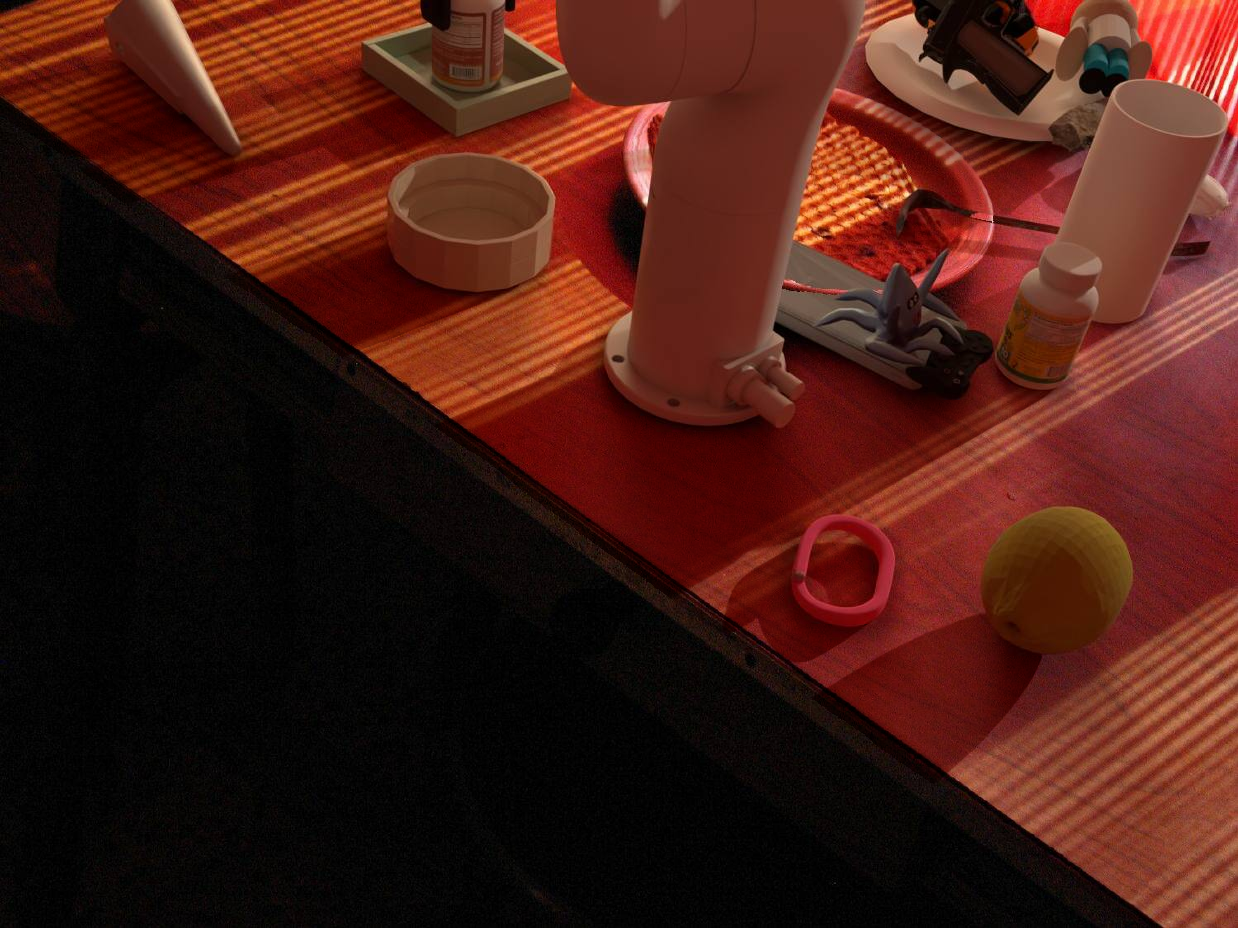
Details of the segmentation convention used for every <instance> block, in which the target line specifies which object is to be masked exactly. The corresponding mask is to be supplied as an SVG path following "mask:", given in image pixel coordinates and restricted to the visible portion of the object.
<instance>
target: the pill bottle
mask: <svg viewBox="0 0 1238 928" xmlns="http://www.w3.org/2000/svg"><path fill="white" fill-rule="evenodd" d="M505 17H506V11H505V0H451V17H450V28H449V29H448V30H446V31H441V30H439V29H438V28H436V27H435V26H433V25H432V74H433V77H434V78H435V80H436V81H437V82H438V83H440V84H441V85H443V86H444V87H447V88H449V89H452V90H456V91H461V92H480V91H484V90H487V89H490V88H492V87H493V86H495V85H496V84H497V83H498V82H499V81H500V79H501V77H502V71H503V48H504V27H505V20H506V18H505Z"/></svg>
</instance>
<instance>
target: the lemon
mask: <svg viewBox="0 0 1238 928" xmlns="http://www.w3.org/2000/svg"><path fill="white" fill-rule="evenodd" d="M1133 583H1134V568H1133V561H1132V559H1131V556H1130V553H1129V549H1128V546H1127V543H1126V542H1125V541H1124V539H1123V538H1122V536H1121V535H1120V533H1119V532H1118V531H1117V530H1116V529H1115V527H1114V526H1113V525H1111V524H1110V522H1109V521H1108V520H1107V519H1106V518H1104V517H1102V516H1100V515H1098V514H1097V513H1095V512H1094V511H1091V510H1088V509H1086V508H1082V507H1077V506H1051V507H1050V506H1049V507H1047V508H1044V509H1041V510H1038V511H1035V512H1033V513H1030V514H1028V515H1027V516H1025V517H1023V518H1021V519H1019V520H1018V521H1016V522H1014V523H1013V524H1011V525H1010V526H1008V527H1007V528H1006V529H1005V530H1004V531H1003V532H1002V533H1001V534H1000V535H999V536H998V537H997V539H996V540H995V541H994V543H993V544H992V546H991V547H990V549H989V551H988V553H987V556H986V558H985V562H984V565H983V568H982V572H981V578H980V584H979V587H980V596H981V601H982V605H983V609H984V612H985V614H986V617H987V619H988V621H989V623H990V624H991V625H992V627H993V628H994V629H995V630H996V631H997V633H998V634H999V636H1000V637H1001V638H1002V639H1003V640H1005V641H1008V642H1009V643H1010V644H1012V645H1014V646H1016V647H1018V648H1020V649H1022V650H1025V651H1028V652H1031V653H1035V654H1041V655H1061V654H1067V653H1071V652H1075V651H1077V650H1080V649H1083V648H1086V647H1088V646H1090V645H1092V644H1093V643H1094V642H1095V641H1097V640H1098V639H1099V638H1100V637H1101V636H1102V635H1103V634H1105V633H1106V631H1108V630H1109V629H1110V628H1111V627H1112V625H1113V624H1114V623H1115V621H1116V620H1117V619H1118V616H1119V615H1120V612H1121V611H1122V609H1123V607H1124V605H1125V603H1126V600H1127V599H1128V596H1129V594H1130V592H1131V589H1132V586H1133Z"/></svg>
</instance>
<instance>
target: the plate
mask: <svg viewBox="0 0 1238 928" xmlns="http://www.w3.org/2000/svg"><path fill="white" fill-rule="evenodd" d="M1037 27H1038V26H1037ZM1038 28H1039V29H1038V33H1039V43H1038V45H1037V46H1036V48H1035V50H1034V51H1033V53H1032V55H1031V56H1030V57H1028V58H1029V59H1031V60H1032V61H1033V62H1034V63H1036V64H1037V65H1038V66H1040V67H1041V68H1042V69H1043V70H1045V71H1046V72H1047V73H1048V72H1049V71H1050V70H1051V69H1054V72H1053V75H1052V77H1051V79H1050V81H1049V82H1048V83H1047V84H1046V85H1045V86H1044V87H1043V89H1042V90H1041V91H1040V92H1039V93H1038V94H1037V95H1036V97H1035V98H1034V99H1033V100H1032V101H1031V102H1030V104H1029V105H1028V106H1027V107H1026V108H1025V109H1024V111H1023V112H1022V113H1021V114H1020V115H1019V116H1018V115H1016V114H1015V113H1013V112H1012V111H1010V110H1009V109H1008V108H1007V107H1006V106H1004V105H1003V104H1002V103H1001V102H1000V101H999V100H998V99H997V98H996V97H995V96H994V95H993V94H992V93H991V92H990V91H989V89H988V88H987V86H986V85H985V84H983V85H982V84H981V83H980V82H979V81H978V80H977V79H976V77H975V76H973V75H972V74H971V73H969V72H968V71H964V70H955V71H954V72H953V73H952V75H951V77H950V79H949V82H948V84H947V83H945V82H944V80H943V74H942V65H941V64H939V63H937V62H935V61H933V60H932V59H930V58H929V57H928V56H927V57H925V58H923V59H922V61H921V62H919V61H918V59H919V55H920V54H921V53H923V52H924V51H923V49H922V48H923V44H924V42H925V40H926V38H927V37H928V34H927V31H928V30H927V29H924V28H923V27H921V26H920V25H919V24H918V22H917V21H916V19H915V16H914V13H910V14H907V15H904V16H901V17H898V18H894V19H891V20H888V21H886V22H885V23H884V24H882V25H881V26H880V27H878V28H877V29H875V30H874V31H872V33H871V34H870V36H869V38H868V40H867V41H866V43H865V46H864V55H865V65H866V66H867V68H868V69H869V70H870V72H871V74H872V76H873V77H874V79H875V81H876V82H877V83H878V84H879V85H881V87H883V88H884V89H885V90H886V91H887V92H888V93H890V94H891V95H892V96H893V97H894V98H895V99H896V100H898V101H899V102H901V103H903V105H906V106H908V107H909V108H911V109H912V110H914V111H915V112H918V113H919V114H921V115H923V116H924V117H928V118H930V119H932V120H934V121H937V122H939V123H942V124H944V125H947V126H949V127H952V128H954V129H957V130H961V131H963V132H964V131H965V132H967V133H972V134H975V135H978V136H983V137H987V138H990V139H996V140H997V139H998V140H1002V141H1011V142H1018V143H1023V144H1024V143H1025V144H1052V142H1053V136H1052V134H1051V132H1050V131H1049V130H1048V128H1049V127H1050V126H1051V124H1052V123H1053V122H1054V121H1056V120H1057V119H1058V118H1059V117H1061V116H1062V115H1063V114H1064V113H1066V112H1067V111H1068V110H1071V109H1074V108H1075V107H1077V106H1078V105H1085V104H1087V103H1089V104H1090V103H1093V102H1095V101H1098V100H1099V101H1100V100H1102V99H1103V98H1105V97H1104V96H1103V94H1102V92H1101V91H1099V92H1098V93H1095V94H1086V93H1084V92H1083V91H1082V90H1081V89H1080V87H1079V79H1080V76H1081V75H1082V74H1083V72H1084V67H1083V63H1082V65H1081V67H1080V69H1079V71H1078V72H1077V73H1076V74H1075V76H1074V77H1073V78H1071V79H1070V80H1068V81H1061V80H1059V79H1058V77H1057V75H1056V71H1055V64H1056V57H1057V54H1058V51H1059V48H1060V46H1061V44H1062V42H1063V40H1064V38H1065V37H1064V36H1062V35H1060V34H1057V33H1055V32H1052V31H1049V30H1047V29H1044V28H1042V27H1038Z"/></svg>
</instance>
